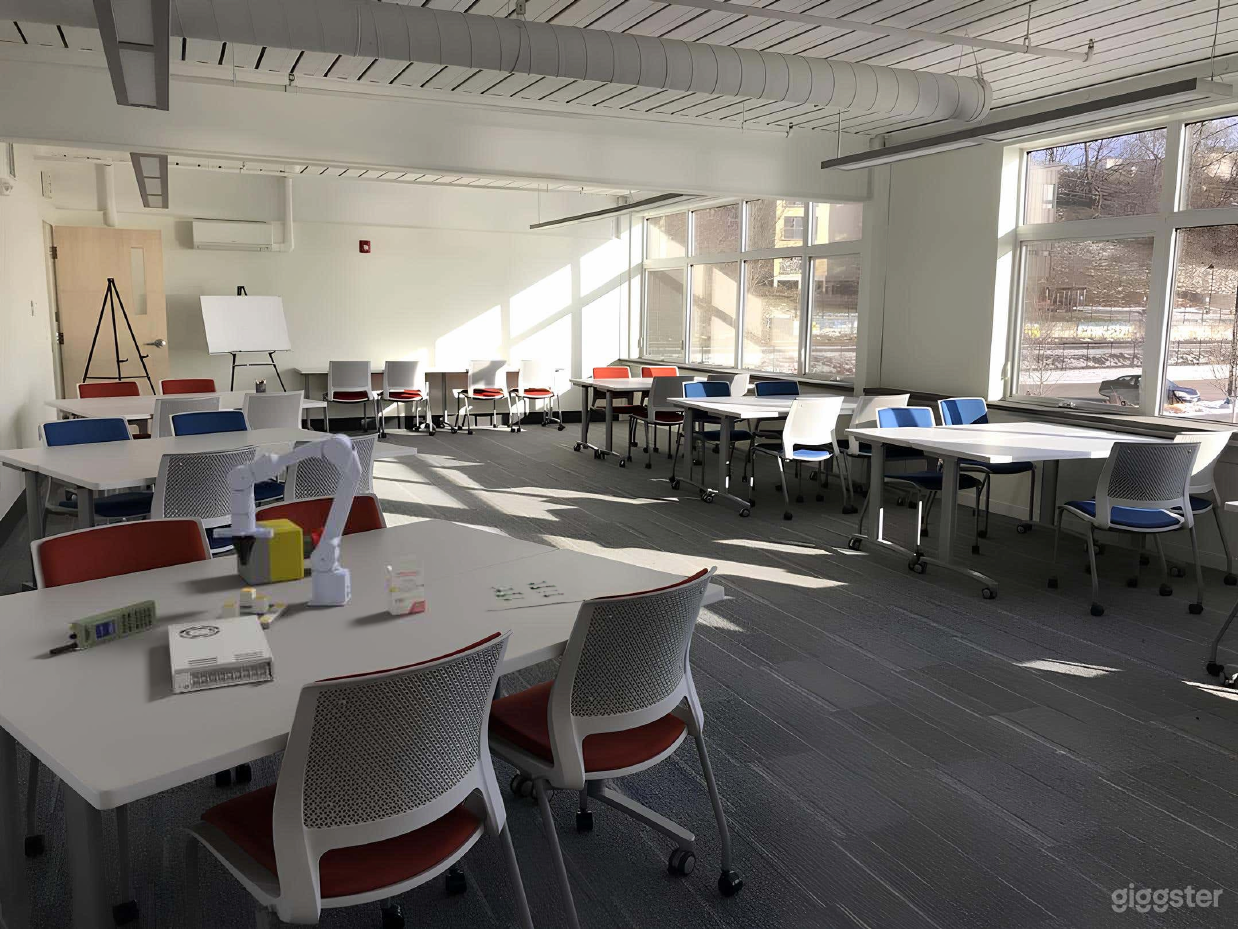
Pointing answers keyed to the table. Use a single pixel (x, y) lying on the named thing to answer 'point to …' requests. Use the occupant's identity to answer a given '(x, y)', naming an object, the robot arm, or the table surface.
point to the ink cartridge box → (406, 585)
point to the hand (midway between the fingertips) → (244, 564)
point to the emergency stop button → (279, 553)
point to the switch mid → (260, 604)
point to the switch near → (230, 610)
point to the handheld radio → (110, 625)
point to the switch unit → (264, 618)
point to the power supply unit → (220, 651)
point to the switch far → (247, 596)
